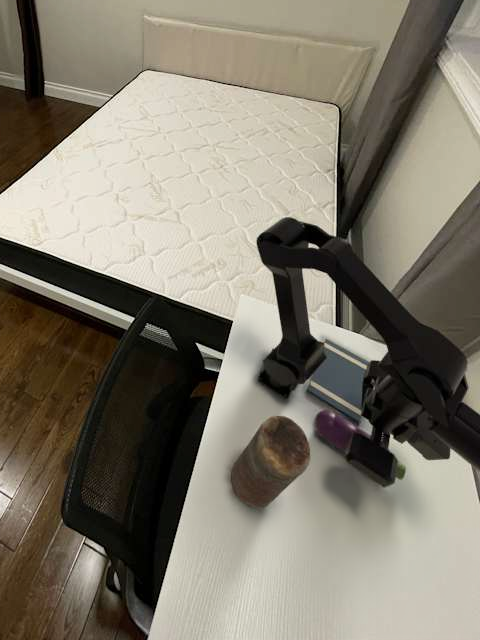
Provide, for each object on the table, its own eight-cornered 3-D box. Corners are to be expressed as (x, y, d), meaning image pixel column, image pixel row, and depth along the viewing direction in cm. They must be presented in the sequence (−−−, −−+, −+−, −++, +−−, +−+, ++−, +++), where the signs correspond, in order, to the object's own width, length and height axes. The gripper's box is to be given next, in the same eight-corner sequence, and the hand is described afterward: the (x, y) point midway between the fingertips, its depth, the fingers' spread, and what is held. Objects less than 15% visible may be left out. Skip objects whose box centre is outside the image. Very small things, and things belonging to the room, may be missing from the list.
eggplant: (307, 432, 70) (315, 425, 66) (316, 409, 73) (323, 400, 69) (393, 490, 63) (406, 485, 60) (398, 461, 66) (411, 455, 63)
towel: (306, 391, 75) (307, 389, 75) (325, 339, 84) (326, 338, 84) (358, 423, 71) (360, 422, 71) (372, 365, 80) (373, 364, 79)
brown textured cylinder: (276, 467, 65) (312, 425, 53) (274, 518, 60) (312, 485, 47) (233, 450, 67) (258, 406, 54) (227, 498, 62) (252, 461, 49)
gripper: (461, 503, 45) (403, 527, 55) (465, 379, 57) (416, 417, 67) (365, 441, 50) (327, 474, 60) (387, 339, 62) (352, 380, 72)
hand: (359, 434), depth 65 cm, fingers open, 9 cm apart
